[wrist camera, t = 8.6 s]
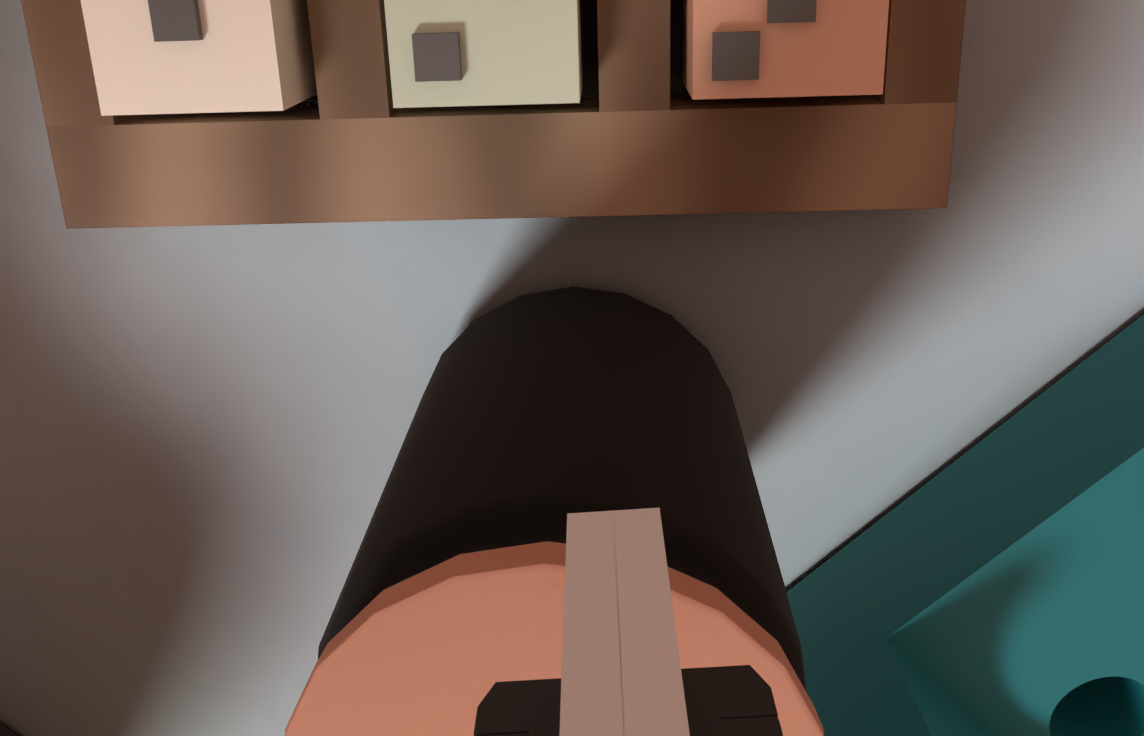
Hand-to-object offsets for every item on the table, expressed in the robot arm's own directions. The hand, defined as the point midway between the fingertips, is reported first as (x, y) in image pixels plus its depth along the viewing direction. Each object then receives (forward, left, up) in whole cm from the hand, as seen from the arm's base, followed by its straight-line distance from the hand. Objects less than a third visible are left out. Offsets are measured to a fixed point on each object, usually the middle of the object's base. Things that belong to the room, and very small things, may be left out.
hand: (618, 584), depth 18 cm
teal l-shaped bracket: (+16, -11, -19) cm, 27 cm away
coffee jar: (-1, -6, -19) cm, 20 cm away
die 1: (-11, +8, -18) cm, 23 cm away
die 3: (+5, +8, -18) cm, 21 cm away
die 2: (-3, +8, -18) cm, 20 cm away
